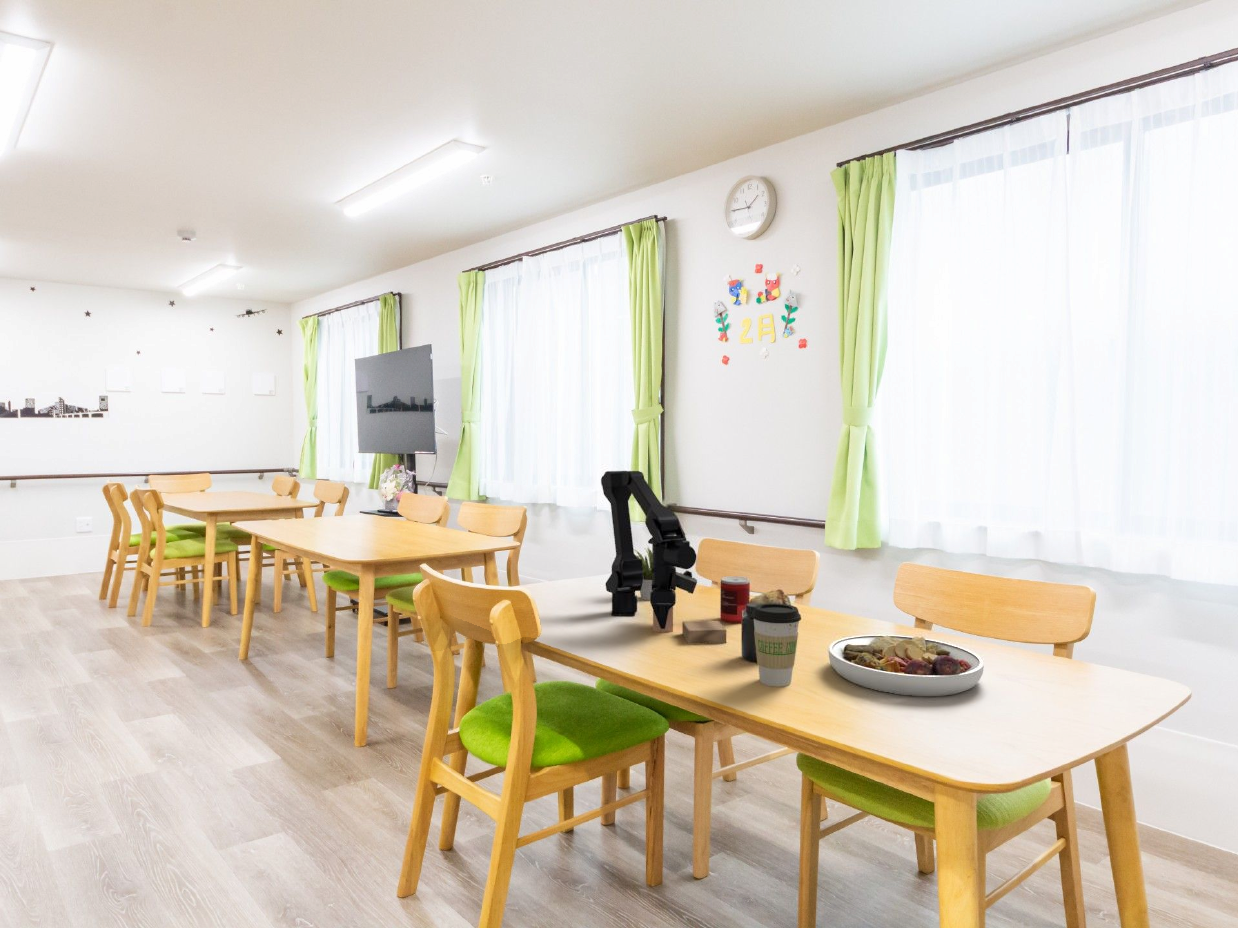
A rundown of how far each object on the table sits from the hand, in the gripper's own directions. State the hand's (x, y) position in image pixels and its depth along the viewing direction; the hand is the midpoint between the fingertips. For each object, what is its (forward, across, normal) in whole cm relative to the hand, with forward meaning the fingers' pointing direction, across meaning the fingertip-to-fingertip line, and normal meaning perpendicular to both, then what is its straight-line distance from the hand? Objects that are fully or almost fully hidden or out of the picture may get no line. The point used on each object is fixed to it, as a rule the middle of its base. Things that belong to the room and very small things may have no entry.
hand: (663, 624), depth 200 cm
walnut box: (+2, -8, -10) cm, 13 cm away
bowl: (+2, -34, -50) cm, 60 cm away
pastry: (+2, +15, -29) cm, 32 cm away
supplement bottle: (+2, -24, -21) cm, 32 cm away
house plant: (+1, +36, +3) cm, 36 cm away
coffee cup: (+1, -40, -23) cm, 46 cm away
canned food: (+2, +11, -19) cm, 22 cm away
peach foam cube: (+1, 0, 0) cm, 1 cm away
